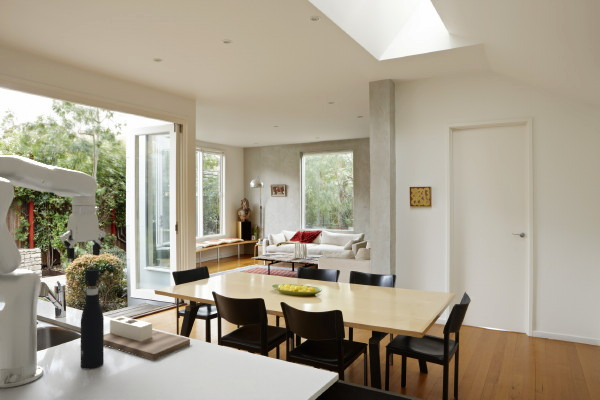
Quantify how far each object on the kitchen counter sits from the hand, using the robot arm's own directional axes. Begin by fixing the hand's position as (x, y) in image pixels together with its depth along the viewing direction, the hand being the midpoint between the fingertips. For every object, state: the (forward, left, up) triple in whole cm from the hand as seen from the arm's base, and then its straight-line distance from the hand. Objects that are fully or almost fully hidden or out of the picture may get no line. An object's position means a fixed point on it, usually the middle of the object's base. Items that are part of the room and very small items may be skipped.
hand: (83, 257), depth 152 cm
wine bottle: (-26, -7, -31) cm, 41 cm away
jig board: (-11, -21, -30) cm, 38 cm away
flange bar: (-7, -17, -28) cm, 34 cm away
